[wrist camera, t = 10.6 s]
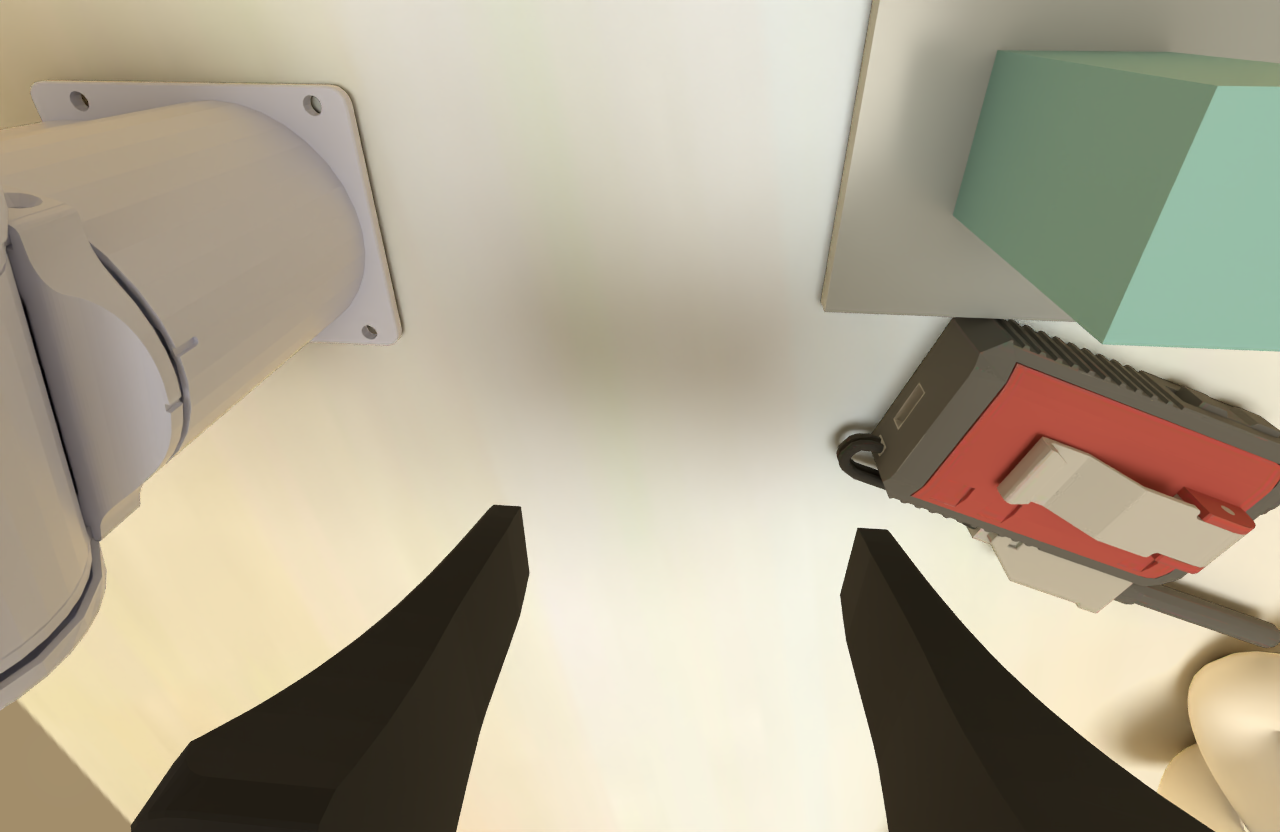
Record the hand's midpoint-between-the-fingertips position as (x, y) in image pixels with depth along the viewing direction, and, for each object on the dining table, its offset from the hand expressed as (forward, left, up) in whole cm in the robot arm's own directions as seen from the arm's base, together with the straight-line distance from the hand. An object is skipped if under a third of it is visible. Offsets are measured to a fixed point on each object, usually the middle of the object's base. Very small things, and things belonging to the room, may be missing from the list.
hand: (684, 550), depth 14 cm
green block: (+9, +7, -9) cm, 14 cm away
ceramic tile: (+9, +7, -9) cm, 15 cm away
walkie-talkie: (+15, -5, -10) cm, 19 cm away
